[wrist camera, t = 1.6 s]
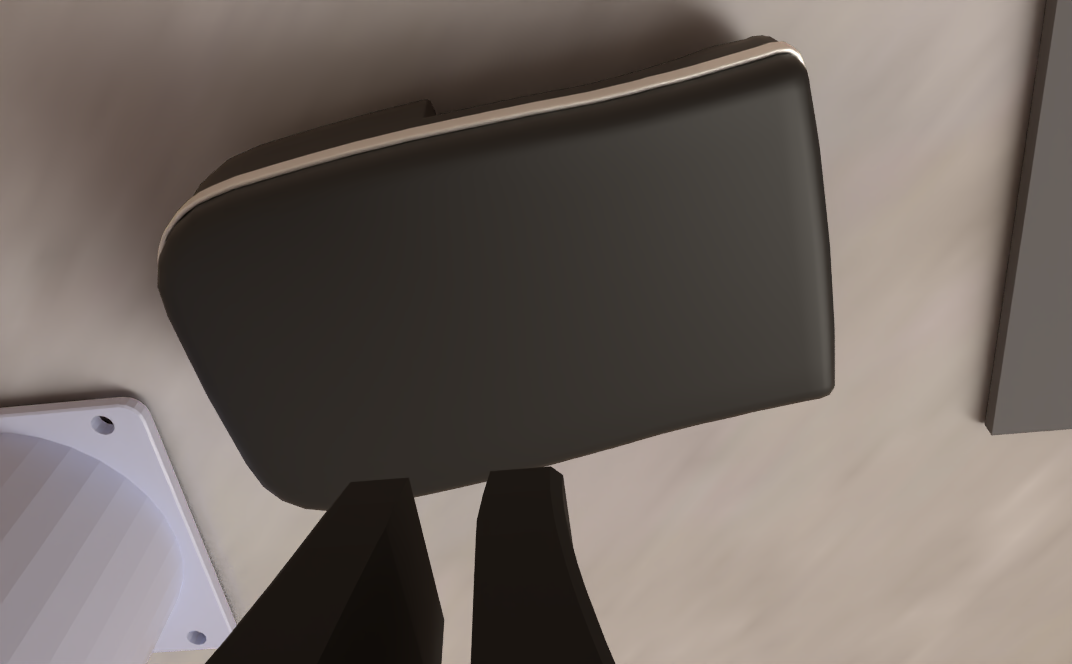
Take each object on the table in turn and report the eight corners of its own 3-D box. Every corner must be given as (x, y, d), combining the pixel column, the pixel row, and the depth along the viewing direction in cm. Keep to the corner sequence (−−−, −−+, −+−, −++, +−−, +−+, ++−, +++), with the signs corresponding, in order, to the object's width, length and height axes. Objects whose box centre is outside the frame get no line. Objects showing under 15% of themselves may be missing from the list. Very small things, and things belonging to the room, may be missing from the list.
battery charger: (756, -11, 17) (168, 144, 18) (825, 42, 14) (104, 228, 15) (791, 307, 21) (302, 424, 21) (852, 408, 17) (273, 542, 18)
